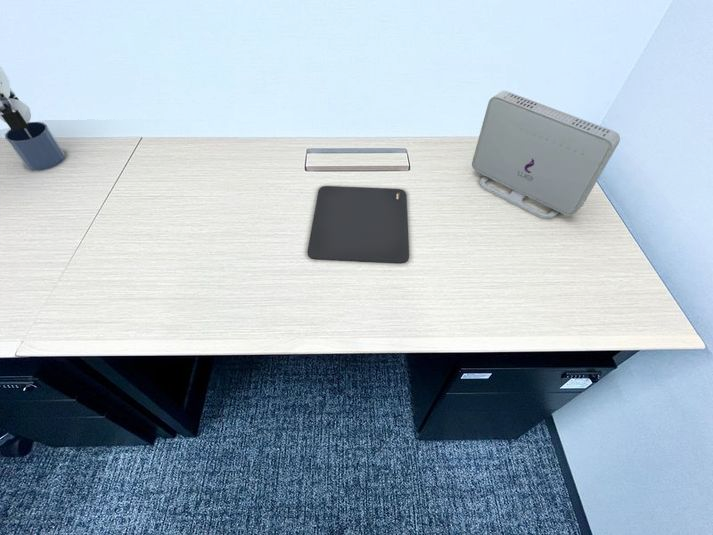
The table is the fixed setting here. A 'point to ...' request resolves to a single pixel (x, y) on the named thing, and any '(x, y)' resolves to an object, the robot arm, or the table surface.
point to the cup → (36, 146)
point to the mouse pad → (360, 225)
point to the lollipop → (20, 111)
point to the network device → (541, 154)
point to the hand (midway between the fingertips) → (19, 121)
